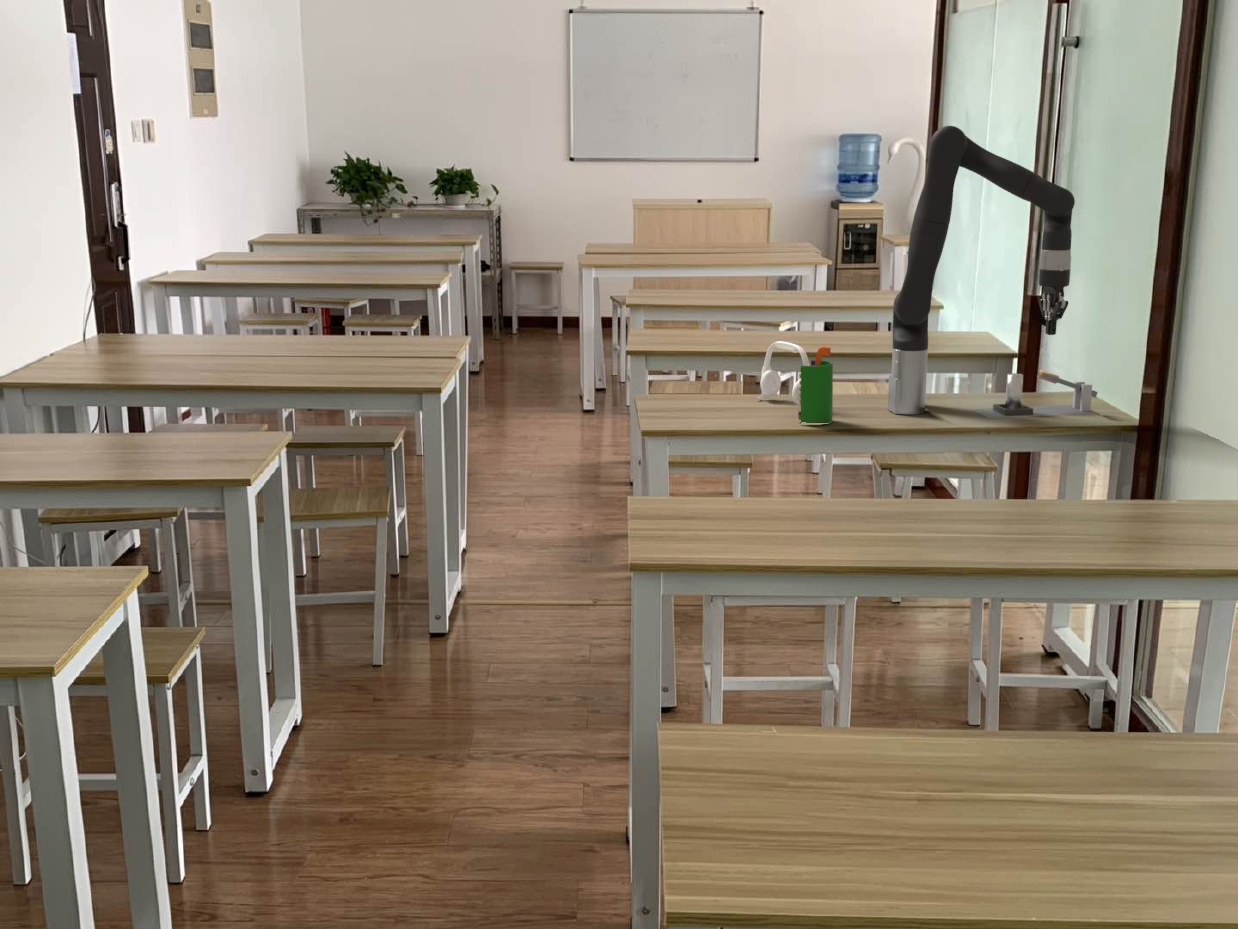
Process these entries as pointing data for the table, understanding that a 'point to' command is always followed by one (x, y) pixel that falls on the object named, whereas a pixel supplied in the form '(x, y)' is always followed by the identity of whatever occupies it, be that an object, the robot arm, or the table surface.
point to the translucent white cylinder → (1014, 391)
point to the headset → (771, 378)
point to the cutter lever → (1060, 381)
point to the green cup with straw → (817, 389)
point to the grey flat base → (1045, 407)
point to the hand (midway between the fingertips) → (1050, 334)
